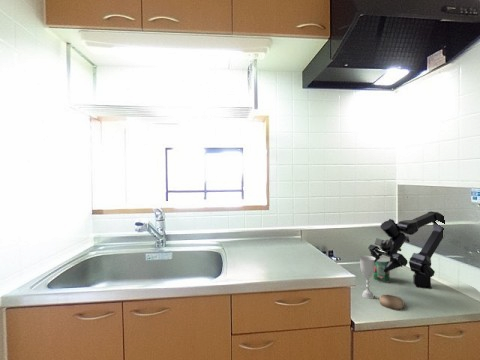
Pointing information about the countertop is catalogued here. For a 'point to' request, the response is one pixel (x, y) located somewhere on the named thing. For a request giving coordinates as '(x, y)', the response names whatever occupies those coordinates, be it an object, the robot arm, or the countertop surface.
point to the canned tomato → (381, 270)
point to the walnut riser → (391, 302)
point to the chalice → (367, 272)
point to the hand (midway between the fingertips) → (376, 268)
